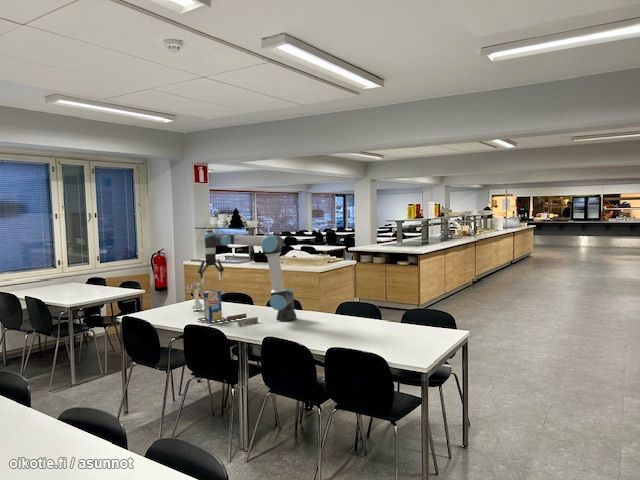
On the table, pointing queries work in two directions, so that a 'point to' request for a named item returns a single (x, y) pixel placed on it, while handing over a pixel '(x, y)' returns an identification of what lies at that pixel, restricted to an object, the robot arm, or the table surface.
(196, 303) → the flower vase
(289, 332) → the table surface
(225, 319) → the tray
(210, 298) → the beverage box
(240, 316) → the carton holder
